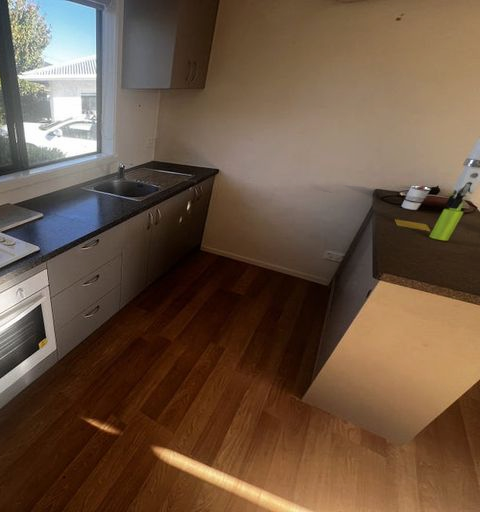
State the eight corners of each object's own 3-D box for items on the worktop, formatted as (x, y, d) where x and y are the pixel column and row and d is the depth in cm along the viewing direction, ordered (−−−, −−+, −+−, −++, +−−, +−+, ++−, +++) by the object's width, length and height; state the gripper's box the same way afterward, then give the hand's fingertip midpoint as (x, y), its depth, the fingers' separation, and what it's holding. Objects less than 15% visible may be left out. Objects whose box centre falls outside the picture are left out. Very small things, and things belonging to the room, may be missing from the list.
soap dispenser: (425, 234, 136) (447, 192, 129) (446, 238, 132) (471, 195, 124) (426, 237, 132) (450, 193, 125) (448, 241, 128) (474, 196, 120)
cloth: (426, 224, 147) (426, 224, 147) (430, 231, 140) (430, 230, 140) (394, 219, 153) (394, 219, 153) (396, 225, 146) (397, 225, 146)
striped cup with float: (423, 211, 164) (436, 190, 158) (406, 209, 166) (418, 189, 160) (411, 205, 173) (423, 185, 167) (395, 204, 174) (406, 184, 168)
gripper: (497, 168, 111) (467, 213, 120) (487, 162, 122) (460, 204, 130) (467, 165, 115) (441, 209, 124) (460, 159, 126) (436, 200, 135)
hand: (451, 206), depth 127 cm, fingers closed on soap dispenser, 3 cm apart
